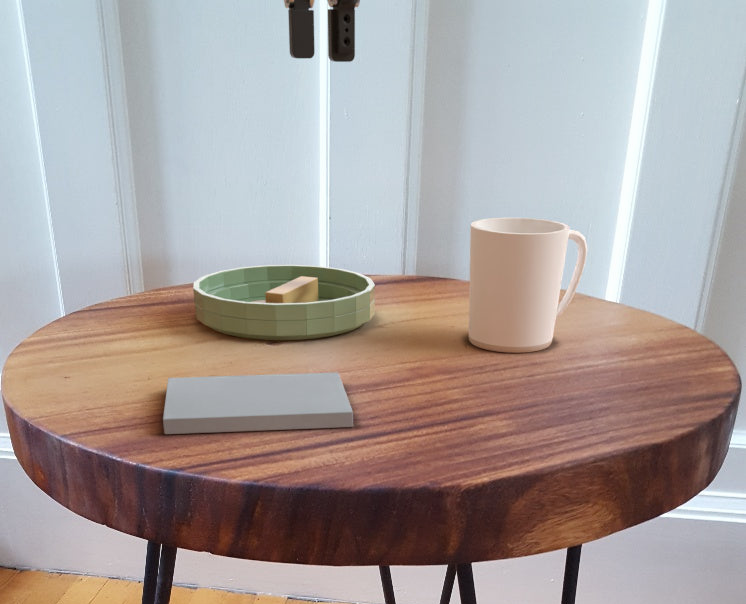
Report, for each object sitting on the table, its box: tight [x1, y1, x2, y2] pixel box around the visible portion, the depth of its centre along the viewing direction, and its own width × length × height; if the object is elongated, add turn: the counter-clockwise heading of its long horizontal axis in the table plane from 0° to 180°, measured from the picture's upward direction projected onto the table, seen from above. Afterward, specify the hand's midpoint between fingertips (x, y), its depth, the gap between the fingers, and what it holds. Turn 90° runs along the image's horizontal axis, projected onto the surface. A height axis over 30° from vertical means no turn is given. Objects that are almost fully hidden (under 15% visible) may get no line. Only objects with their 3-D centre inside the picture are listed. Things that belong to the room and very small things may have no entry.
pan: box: [192, 264, 376, 341], centre depth 98 cm, size 18×18×4 cm
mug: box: [468, 217, 588, 354], centre depth 90 cm, size 11×9×10 cm
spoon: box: [252, 276, 318, 303], centre depth 98 cm, size 12×4×2 cm, turn 158°
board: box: [162, 371, 354, 435], centre depth 75 cm, size 14×10×1 cm
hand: (321, 59), depth 85 cm, fingers open, 8 cm apart
